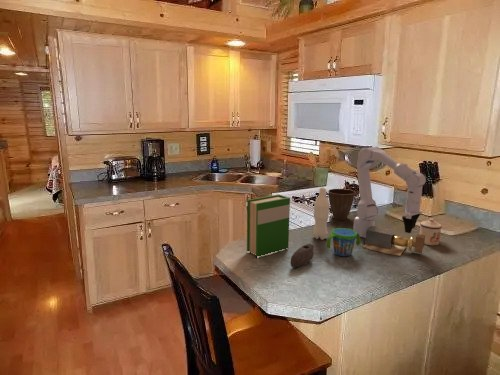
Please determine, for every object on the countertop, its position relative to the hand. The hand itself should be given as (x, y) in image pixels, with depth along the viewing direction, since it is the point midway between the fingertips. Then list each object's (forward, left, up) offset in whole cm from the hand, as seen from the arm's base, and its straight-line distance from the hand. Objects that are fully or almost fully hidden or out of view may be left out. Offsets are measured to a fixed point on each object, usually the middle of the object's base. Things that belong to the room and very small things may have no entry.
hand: (409, 230), depth 154 cm
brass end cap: (-1, -3, -8) cm, 9 cm away
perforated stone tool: (-32, -42, -10) cm, 54 cm away
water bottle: (-38, -10, -9) cm, 40 cm away
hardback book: (-50, -39, -9) cm, 64 cm away
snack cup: (-22, -22, -9) cm, 33 cm away
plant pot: (-42, +27, -9) cm, 51 cm away
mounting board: (-9, -3, -9) cm, 13 cm away
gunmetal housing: (-11, -3, -9) cm, 15 cm away
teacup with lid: (+7, +17, -9) cm, 21 cm away
